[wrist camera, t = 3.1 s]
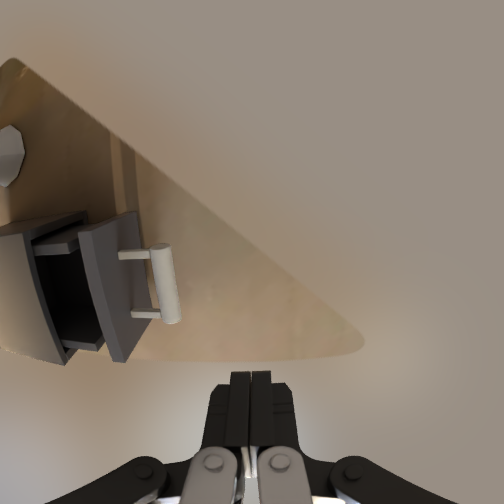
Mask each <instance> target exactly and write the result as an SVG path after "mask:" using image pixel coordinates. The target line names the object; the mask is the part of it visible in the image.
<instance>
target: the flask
mask: <svg viewBox="0 0 504 504" xmlns="http://www.w3.org/2000/svg"><path fill="white" fill-rule="evenodd" d="M24 155H25V151H24V147H23V142H22V137H21V133H20V132H19V131H18V130H16V129H15V128H14V127H12V126H11V125H9V126H7V127H5V128H3V129H1V130H0V185H2V186H5V187H7V186H8V185H9V184H10V183H11V182H12V181H13V180H14V179H15V178H16V177H17V176H18V173H19V170H20V166H21V163H22V160H23V157H24Z"/></svg>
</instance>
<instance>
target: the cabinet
mask: <svg viewBox="0 0 504 504" xmlns="http://www.w3.org/2000/svg"><path fill="white" fill-rule="evenodd" d="M87 224H88V220H87V213H86V210H82V211H76V212H69V213H63V214H57V215H51V216H45V217H40V218H34V219H29V220H24V221H19V222H14V223H9V224H7V225H4V226H1V227H0V348H1V349H4V350H7V351H10V352H13V353H16V354H20V355H23V356H27V357H30V358H34V359H38V360H42V361H46V362H50V363H54V364H59V365H63V366H65V365H66V363H67V362H68V360H70V358H71V357H72V356H73V355H74V353H75V352H76V351H77V350H78V349H76V348H69V347H63V346H62V345H61V342H60V340H59V337H58V335H57V332H56V329H55V327H54V324H53V321H52V318H51V315H50V313H49V310H48V306H47V303H46V300H45V297H44V294H43V290H42V287H41V283H40V280H39V276H38V272H37V268H36V264H35V260H34V255H33V251H32V246H31V241H30V240H32V239H35V238H37V237H39V236H42V235H44V234H46V233H49V232H51V231H54V230H56V229H59V228H63V227H71V226H79V225H87Z"/></svg>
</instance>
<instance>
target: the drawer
mask: <svg viewBox="0 0 504 504" xmlns="http://www.w3.org/2000/svg"><path fill="white" fill-rule="evenodd" d="M30 241H31V246H32V251H33V255H34V260H35V264H36V268H37V272H38V276H39V280H40V283H41V287H42V290H43V294H44V297H45V300H46V303H47V306H48V310H49V313H50V315H51V318H52V321H53V324H54V327H55V329H56V332H57V335H58V337H59V340H60V342H61V345H62V346H63V347H69V348H76V349H82V350H89V351H97V352H98V351H99V349H100V348H101V347H102V345H103V344H104V343H105V342H106V344H107V347H108V350H109V353H110V356H111V358H112V361H113V362H120V363H126V361H127V359H128V358H129V356H130V354H131V352H132V351H133V349H134V348H135V346H136V344H137V343H138V341H139V339H140V338H141V336H142V334H143V333H144V331H145V330H146V328H147V326H148V325H149V323H150V322H151V320H152V318H162V320H163V322H165V323H168V324H173V323H177V322H179V321H180V320H181V319H182V314H181V309H180V303H179V297H178V291H177V285H176V279H175V272H174V265H173V258H172V251H171V245H170V244H166V243H164V244H156V245H153V246H151V247H150V249H141V242H140V235H139V228H138V220H137V212H136V211H131V212H125V213H122V214H119V215H117V216H114V217H112V218H109V219H107V220H105V221H102V222H100V223H96V224H87V225H79V226H71V227H63V228H59V229H56V230H54V231H51V232H49V233H46V234H44V235H42V236H39V237H37V238H35V239H32V240H30ZM144 258H151V262H152V268H153V274H154V280H155V285H156V290H157V296H158V301H159V306H160V309H153V308H152V303H151V298H150V294H149V289H148V283H147V278H146V273H145V267H144V261H143V259H144Z"/></svg>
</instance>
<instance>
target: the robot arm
mask: <svg viewBox="0 0 504 504" xmlns="http://www.w3.org/2000/svg"><path fill="white" fill-rule="evenodd" d="M252 468H253V477H254V478H256V477H257V479H258V489H259V499H260V504H457V503H455V502H452V501H450V500H448V499H445V498H443V497H440V496H438V495H436V494H434V493H431V492H429V491H427V490H425V489H423V488H421V487H418V486H416V485H414V484H412V483H410V482H408V481H406V480H404V479H403V478H401V477H399V476H397V475H395V474H393V473H391V472H389V471H387V470H386V469H383V468H382V467H380V466H378V465H376V464H375V463H373V462H371V461H370V460H368V459H366V458H364V457H361V456H348V457H345V458H342V459H340V460H338V461H337V462H336V463H334V462H325V461H318V460H314V459H312V458H310V457H308V456H306V455H305V454H304V453H303V452H302V450H301V449H300V447H299V442H298V435H297V426H296V419H295V413H294V405H293V397H292V391H291V390H290V389H289V387H288V386H287V385H286V384H285V383H271V371H252V379H251V372H249V371H245V372H231V377H230V385H228V384H227V385H226V384H218V385H217V386H216V388H215V389H214V390H213V391H212V393H211V395H210V401H209V406H208V412H207V417H206V422H205V428H204V433H203V439H202V445H201V448H200V450H199V451H198V452H197V453H196V454H195V455H194V457H192V458H190V459H188V460H186V461H182V462H176V463H169V464H162V462H160V461H159V460H158V459H156V458H153V457H149V456H141V457H137V458H135V459H132V460H131V461H129V462H127V463H126V464H124V465H122V466H120V467H119V468H117V469H116V470H113V471H112V472H110V473H108V474H106V475H104V476H102V477H100V478H99V479H97V480H95V481H93V482H91V483H89V484H87V485H85V486H83V487H81V488H79V489H77V490H75V491H72V492H70V493H68V494H66V495H64V496H62V497H60V498H57V499H55V500H52V501H50V502H48V503H45V504H243V498H244V491H245V478H252Z"/></svg>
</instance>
